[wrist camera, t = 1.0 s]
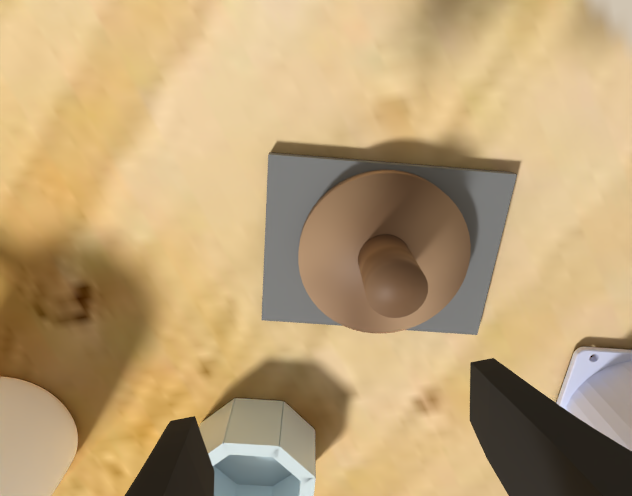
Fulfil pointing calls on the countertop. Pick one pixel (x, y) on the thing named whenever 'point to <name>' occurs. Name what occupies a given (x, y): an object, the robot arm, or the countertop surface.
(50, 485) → the mug
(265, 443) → the bowl
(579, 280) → the countertop surface
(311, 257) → the lid
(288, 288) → the mat
